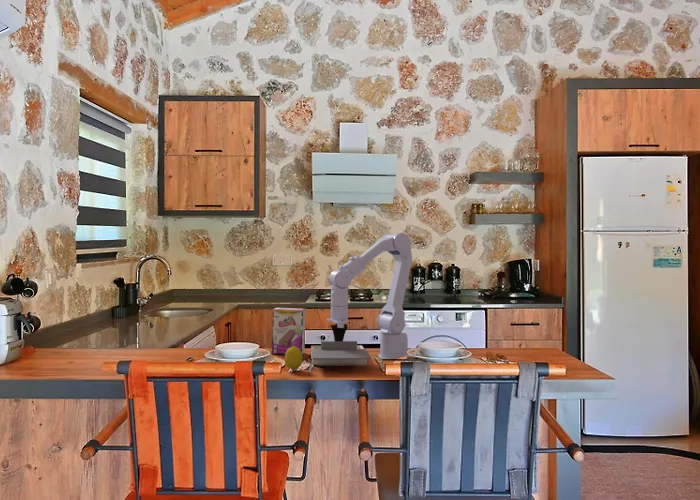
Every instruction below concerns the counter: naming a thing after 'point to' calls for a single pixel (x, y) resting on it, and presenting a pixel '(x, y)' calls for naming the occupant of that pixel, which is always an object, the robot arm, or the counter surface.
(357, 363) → the mailer box
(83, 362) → the counter surface
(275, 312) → the candy bar box
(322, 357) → the lid
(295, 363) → the lemon
